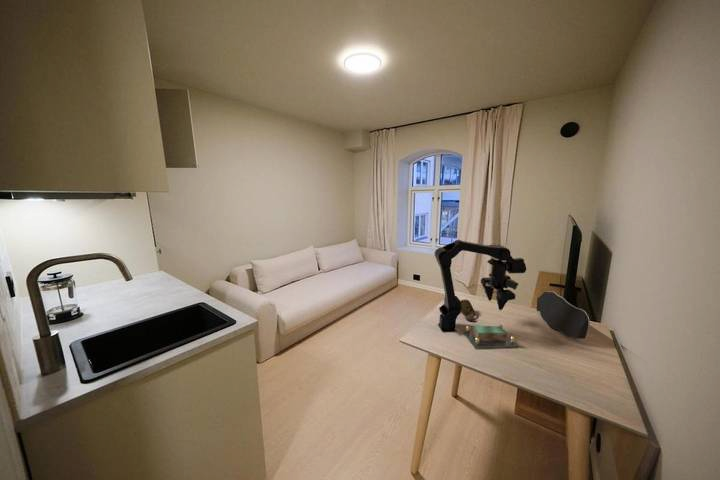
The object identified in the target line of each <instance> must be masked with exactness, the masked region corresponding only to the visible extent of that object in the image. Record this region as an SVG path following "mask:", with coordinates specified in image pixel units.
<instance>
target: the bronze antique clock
mask: <svg viewBox="0 0 720 480" xmlns="http://www.w3.org/2000/svg"><path fill="white" fill-rule="evenodd" d="M460 301H461V308H462V309H461V313H460V314H462V315H463V316H464V320H466V321H468V322H475V321H476V318H475V316H476V311H475V309H474V307H473V305H472V304H471V301H470V300H469V299H462V300H460ZM472 312H473V315H470V314H471V313H472Z"/></svg>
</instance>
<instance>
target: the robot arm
mask: <svg viewBox="0 0 720 480" xmlns="http://www.w3.org/2000/svg"><path fill="white" fill-rule="evenodd" d="M462 251H465V252H470V253H476V254H482V255H486V256H490V257H491V258H490V259H489V260H487V261H486V262H487V264H490V265H491V272H490V273H488V277H482V278H481V279H480V284H481V286H482V287H483V290H484V293H485V295H486V297H487V299H488V301H492V299H493V295H494V290H496V296H495V298H496V302H497V306H498V310H499V311H502V310H503V309H504V307H505V306H506V304H507V302H508V301H512V300H516V294H515V293H514V292H513V291H512V290H517V288H518V286H519V282H517V281H515V280H513V279H511V276H509V275H507V273H508V274H525V273H526V272H527V267H526V263H525V259H524V258H522V257H518V258H517V257H516V258H513V256H512V255H511V250H510V249H509V248H507V247H505V246H504V245H501V244H481V243H476V242H475V243H474V242H470V241H465V240H461V239H456V240H455V241H453V242H451V243H448V244H446V245H443V246H442V247H438V248H437V249H436V250H435V251H434V257H435V260H436V262H437V264H438V265H439V268H440V273H441V279H442V285H443V291H444V298H443V304H442V305H441V306H439V307H438V308H439V309H438V310H439V312H440V314H439V319H438V320H439V321H438V322H439V323H437V326H438V327H439V329H440V330H441V332H442V333H445V332H446V333H447V332H448V333H449V332H450V333H451V332H457V330H456V324H457V318H458V317H459V315H460V314H462V313H461V309H462V308H461V300H460V298H459V297H458V295H456V294H455V288H454V282H453V276H452V270H451V267H452V260H453V259H454V258H456V257H457V256H458V255H459V254H460V253H461V252H462ZM508 288H510V289H512V290H510V289H508Z"/></svg>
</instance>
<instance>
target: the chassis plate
mask: <svg viewBox="0 0 720 480" xmlns="http://www.w3.org/2000/svg"><path fill="white" fill-rule="evenodd" d="M498 326H501V327H502V328H503V325H502V324H498ZM470 329H471V326H470V325H466V326H465V330H463V332H462V333H463V335H464V336H465V337H466V339H467V340H468V341H469V342H470V344H471V346H473V348H474V349H475V350H477V349H478V350H482V349H483V350H484V349H507V348H508V349H510V348H512V349H513V348H514V349H515V348H517V346H518V345H517V344H516V336H514V335H510V337H509V336H508V335H507V336H506V341H479V340H480V338H479V337H474V335H473V329H471V330H470ZM503 329H504V328H503Z"/></svg>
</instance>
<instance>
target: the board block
mask: <svg viewBox="0 0 720 480" xmlns="http://www.w3.org/2000/svg"><path fill="white" fill-rule="evenodd" d="M472 330H473V335H474V337H479V338H480V340H479V341H506V336H508V332H507V331H506V330H505V329H504V328H502V327H501V326H499V325H481V326H480V325H477V326H476V325H473V328H472Z"/></svg>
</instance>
